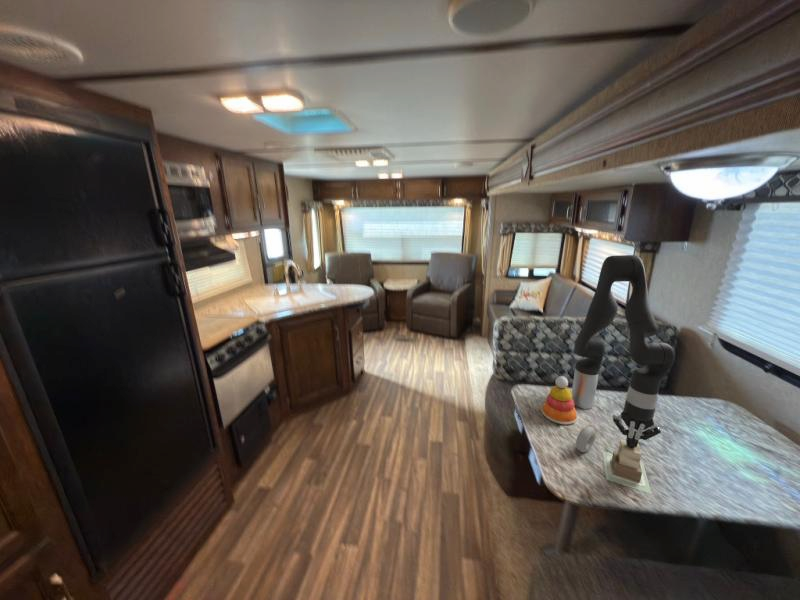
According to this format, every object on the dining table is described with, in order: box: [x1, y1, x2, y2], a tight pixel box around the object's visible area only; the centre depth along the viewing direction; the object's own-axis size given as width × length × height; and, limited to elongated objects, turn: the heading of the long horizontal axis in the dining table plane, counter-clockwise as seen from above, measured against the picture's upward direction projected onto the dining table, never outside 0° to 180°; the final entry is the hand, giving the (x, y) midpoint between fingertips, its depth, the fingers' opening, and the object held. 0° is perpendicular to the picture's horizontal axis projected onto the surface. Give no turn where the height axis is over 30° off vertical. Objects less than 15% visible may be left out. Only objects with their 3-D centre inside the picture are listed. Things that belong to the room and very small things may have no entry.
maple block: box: [617, 439, 642, 469], centre depth 101 cm, size 5×5×6 cm
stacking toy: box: [540, 375, 579, 425], centre depth 130 cm, size 14×14×20 cm
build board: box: [602, 450, 653, 495], centre depth 103 cm, size 14×12×1 cm
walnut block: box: [612, 450, 642, 482], centre depth 103 cm, size 7×7×4 cm
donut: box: [575, 426, 597, 453], centre depth 112 cm, size 10×4×10 cm, turn 123°
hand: (630, 446), depth 100 cm, fingers closed
